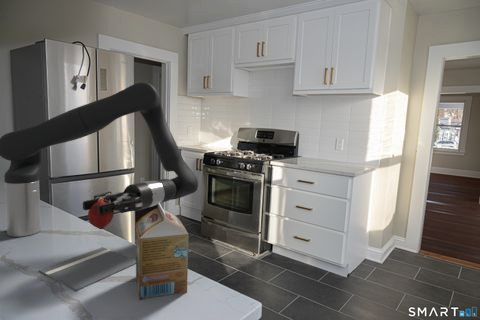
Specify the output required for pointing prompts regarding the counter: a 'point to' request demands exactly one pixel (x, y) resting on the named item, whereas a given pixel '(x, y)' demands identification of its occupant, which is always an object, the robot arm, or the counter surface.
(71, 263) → the mat
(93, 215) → the onion
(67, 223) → the counter surface
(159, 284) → the milk carton
